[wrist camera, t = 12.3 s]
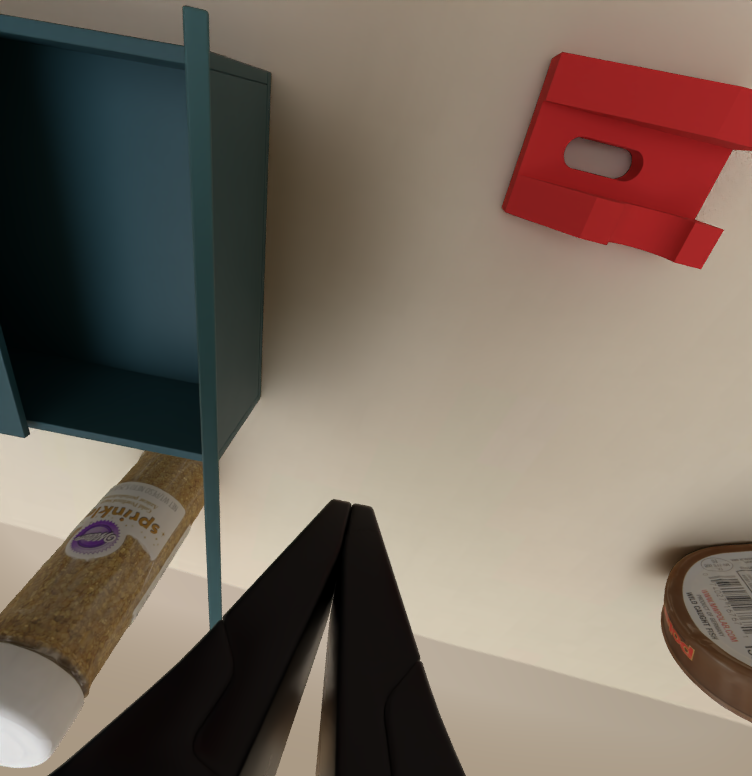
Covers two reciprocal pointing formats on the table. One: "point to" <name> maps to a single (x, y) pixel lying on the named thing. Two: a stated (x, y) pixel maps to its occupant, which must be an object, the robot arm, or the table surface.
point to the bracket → (648, 150)
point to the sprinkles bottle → (88, 602)
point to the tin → (713, 623)
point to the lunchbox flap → (204, 279)
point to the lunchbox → (123, 238)
